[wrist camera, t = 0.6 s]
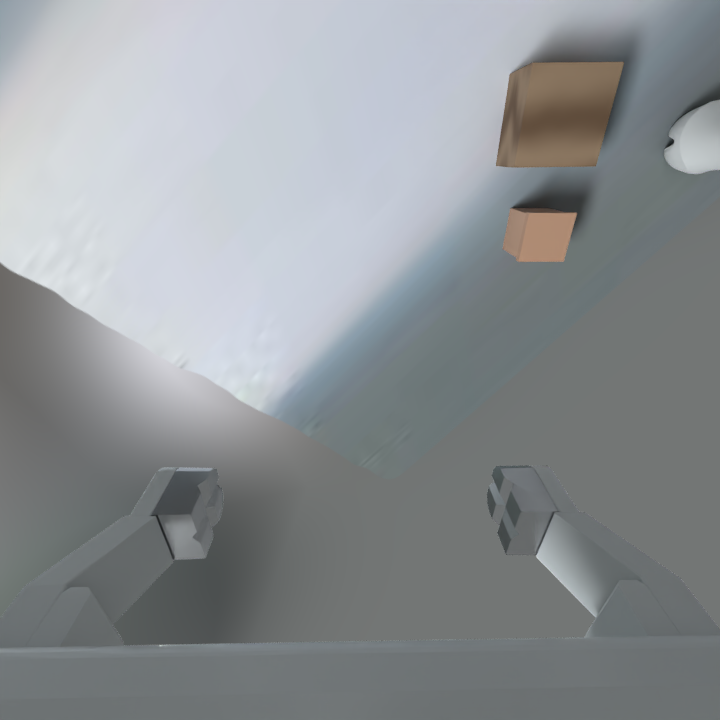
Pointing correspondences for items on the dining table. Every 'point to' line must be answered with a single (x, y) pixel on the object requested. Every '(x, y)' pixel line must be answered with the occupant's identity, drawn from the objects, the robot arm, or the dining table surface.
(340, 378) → the dining table surface
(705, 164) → the water bottle
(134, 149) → the dining table surface
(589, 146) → the walnut box
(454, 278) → the dining table surface
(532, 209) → the brown cardboard box
